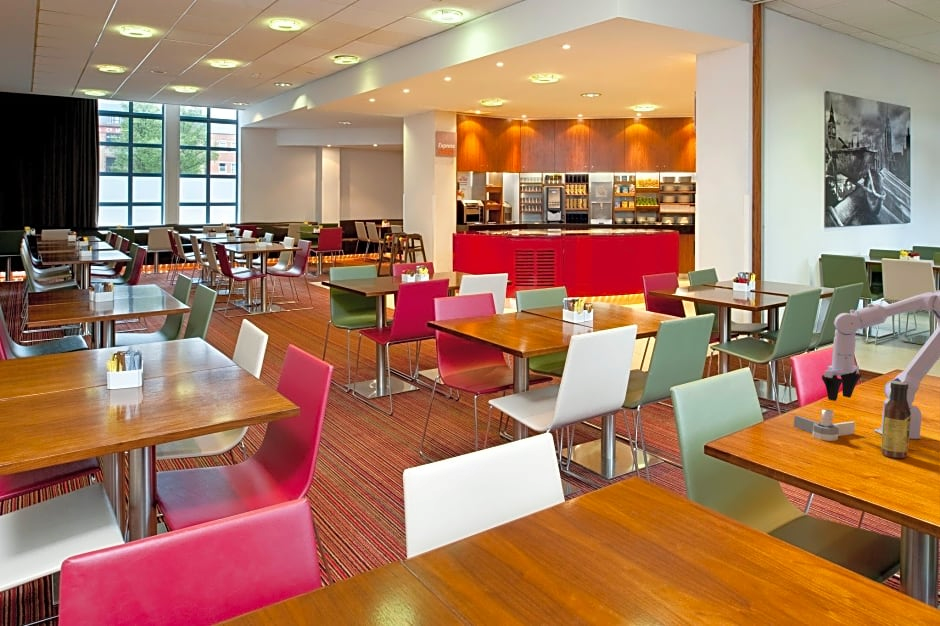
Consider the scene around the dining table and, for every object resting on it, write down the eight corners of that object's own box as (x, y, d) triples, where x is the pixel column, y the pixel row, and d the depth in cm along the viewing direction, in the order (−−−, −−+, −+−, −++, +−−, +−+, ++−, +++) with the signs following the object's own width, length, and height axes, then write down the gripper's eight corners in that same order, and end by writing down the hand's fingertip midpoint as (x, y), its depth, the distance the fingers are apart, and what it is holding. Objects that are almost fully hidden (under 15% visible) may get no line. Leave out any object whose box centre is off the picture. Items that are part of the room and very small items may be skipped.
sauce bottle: (911, 460, 191) (918, 386, 188) (885, 458, 192) (892, 385, 189) (901, 452, 197) (908, 380, 194) (876, 450, 198) (883, 379, 195)
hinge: (826, 441, 205) (827, 429, 205) (786, 427, 218) (787, 416, 218) (862, 436, 211) (863, 424, 210) (821, 423, 224) (822, 412, 223)
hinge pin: (827, 435, 211) (829, 409, 210) (833, 438, 208) (835, 411, 207) (817, 435, 211) (819, 409, 209) (823, 439, 208) (825, 412, 207)
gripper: (844, 349, 222) (840, 392, 223) (816, 353, 214) (812, 398, 216) (867, 353, 216) (863, 397, 218) (839, 358, 208) (835, 404, 210)
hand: (839, 398), depth 216 cm, fingers open, 7 cm apart
